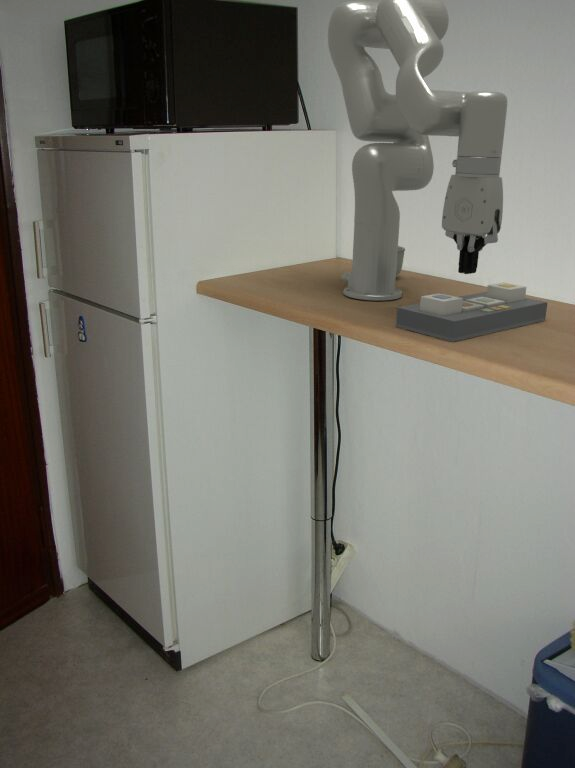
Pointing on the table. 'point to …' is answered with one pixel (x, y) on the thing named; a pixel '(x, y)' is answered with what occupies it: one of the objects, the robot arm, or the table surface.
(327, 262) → the table surface
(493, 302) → the key sage
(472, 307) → the key terracotta
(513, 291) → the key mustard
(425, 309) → the key slate
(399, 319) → the keypad base
